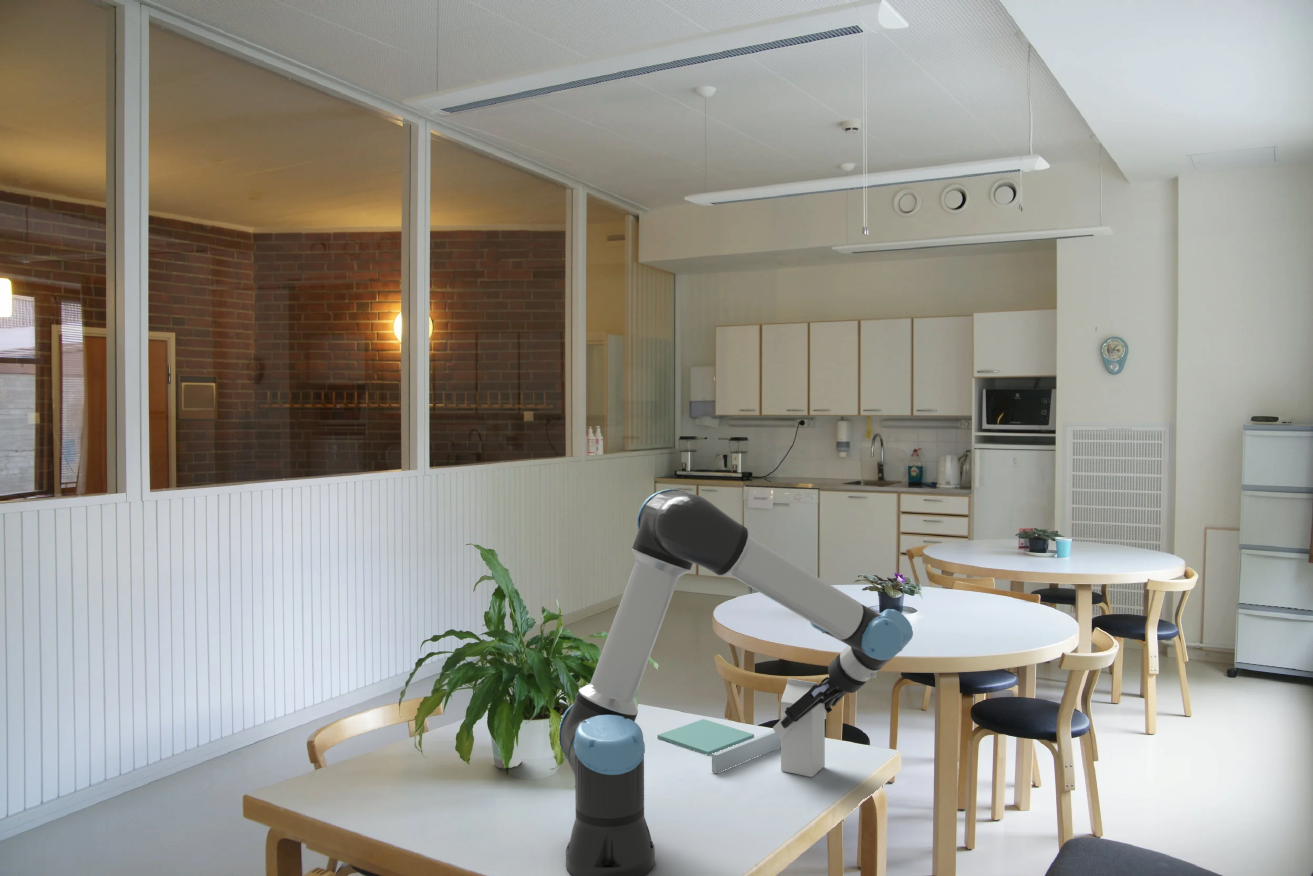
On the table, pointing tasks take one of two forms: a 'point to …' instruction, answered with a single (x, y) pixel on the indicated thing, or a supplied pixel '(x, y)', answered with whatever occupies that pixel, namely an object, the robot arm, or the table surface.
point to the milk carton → (803, 734)
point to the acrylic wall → (745, 751)
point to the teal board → (705, 736)
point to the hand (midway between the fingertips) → (790, 727)
